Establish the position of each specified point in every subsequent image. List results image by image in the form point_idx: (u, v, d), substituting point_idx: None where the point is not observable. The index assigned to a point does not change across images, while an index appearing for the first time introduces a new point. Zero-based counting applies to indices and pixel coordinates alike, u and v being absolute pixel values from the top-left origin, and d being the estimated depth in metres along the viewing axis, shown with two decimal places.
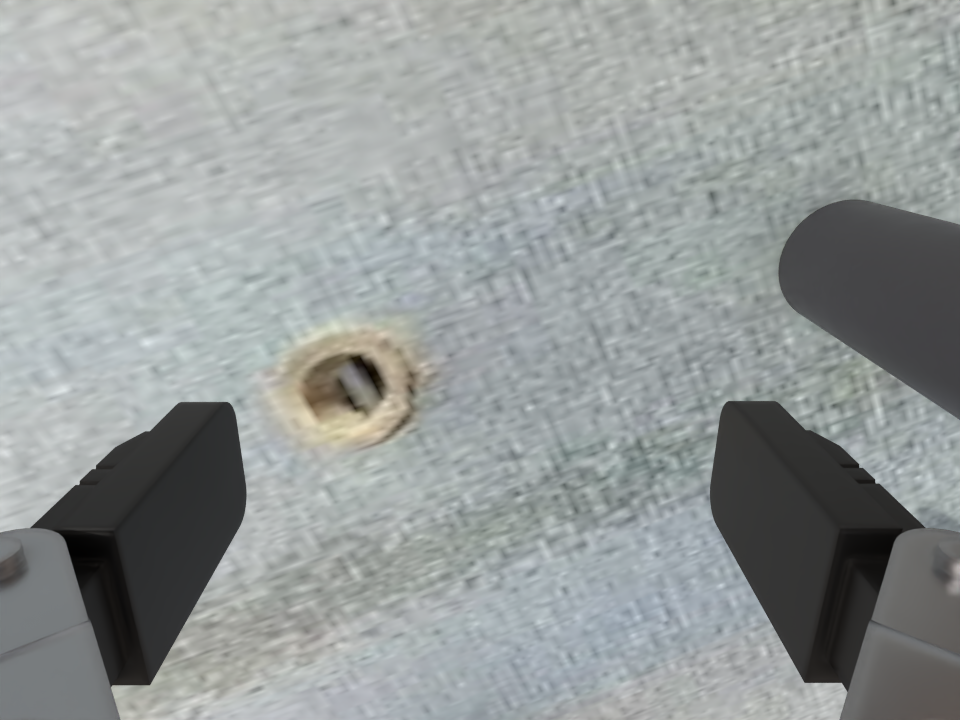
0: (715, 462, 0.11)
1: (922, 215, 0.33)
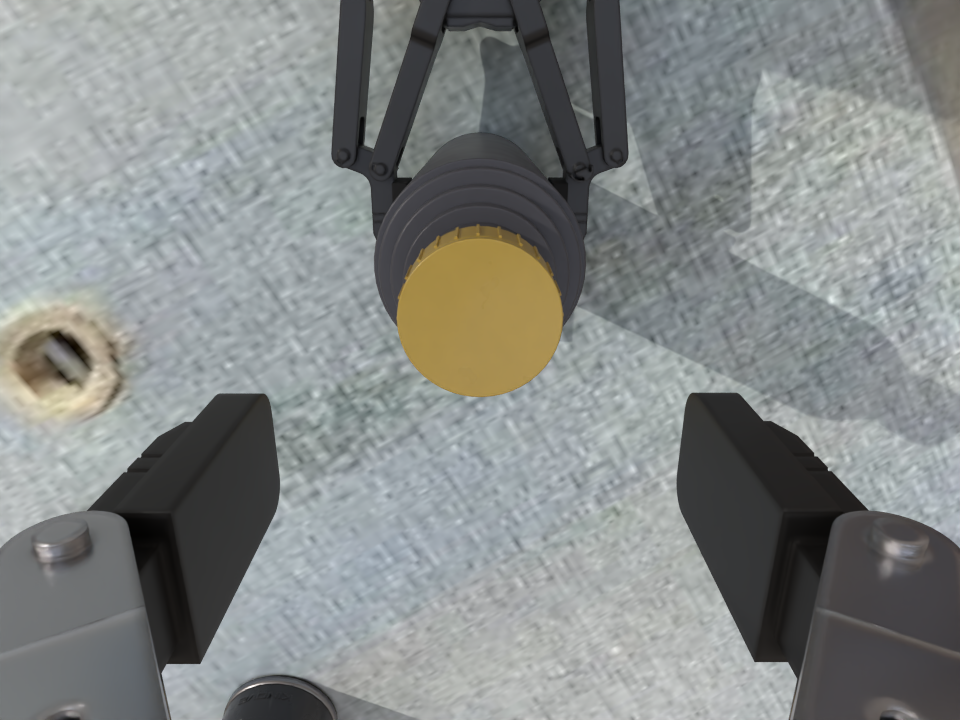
0: (681, 453, 0.11)
1: (485, 137, 0.35)
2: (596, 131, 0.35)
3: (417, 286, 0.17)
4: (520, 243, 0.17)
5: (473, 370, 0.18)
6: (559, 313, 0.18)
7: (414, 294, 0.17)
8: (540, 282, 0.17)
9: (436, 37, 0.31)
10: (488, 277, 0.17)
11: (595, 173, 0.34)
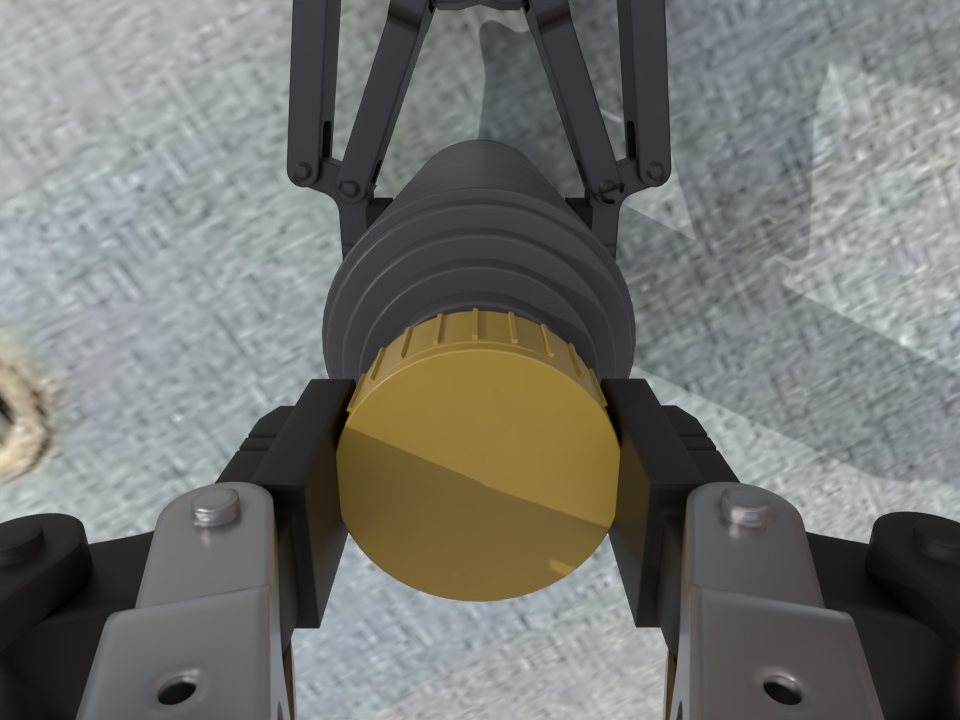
0: None
1: (485, 146, 0.28)
2: (627, 139, 0.27)
3: (368, 430, 0.10)
4: (550, 352, 0.10)
5: (467, 561, 0.11)
6: (618, 472, 0.10)
7: (362, 442, 0.10)
8: (586, 422, 0.10)
9: (421, 16, 0.23)
10: (493, 414, 0.10)
11: (627, 193, 0.27)
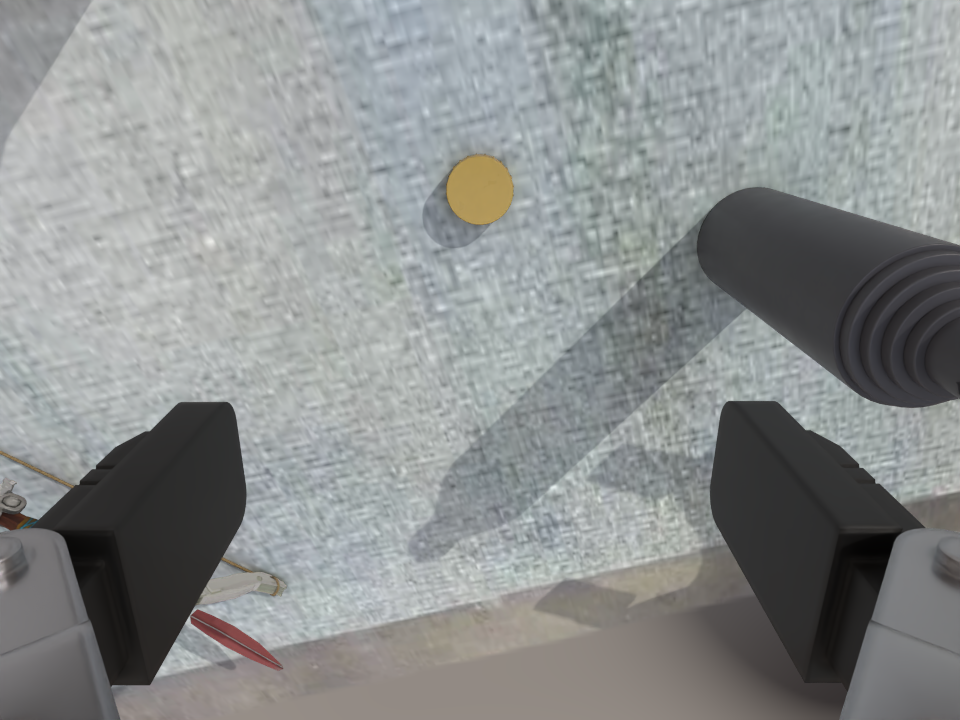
0: (715, 462, 0.11)
1: None
2: None
3: (470, 163, 0.43)
4: (511, 177, 0.44)
5: (464, 205, 0.44)
6: (506, 209, 0.44)
7: (467, 164, 0.43)
8: (508, 194, 0.44)
9: None
10: (494, 179, 0.44)
11: None
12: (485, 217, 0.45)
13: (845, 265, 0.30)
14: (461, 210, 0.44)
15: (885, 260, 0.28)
